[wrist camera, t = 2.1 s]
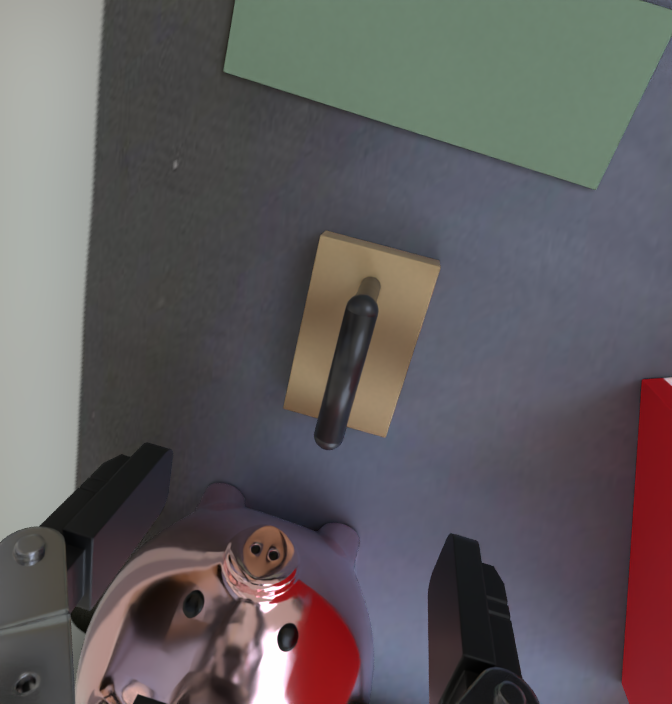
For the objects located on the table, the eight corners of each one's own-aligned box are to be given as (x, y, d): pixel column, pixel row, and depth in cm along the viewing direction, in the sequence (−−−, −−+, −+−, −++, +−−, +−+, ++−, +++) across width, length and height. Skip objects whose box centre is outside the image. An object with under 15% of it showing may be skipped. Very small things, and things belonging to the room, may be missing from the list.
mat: (224, 72, 23) (222, 71, 23) (256, -115, 20) (254, -118, 20) (594, 189, 23) (596, 190, 23) (680, 14, 20) (682, 12, 20)
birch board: (387, 424, 29) (379, 491, 23) (289, 396, 29) (257, 456, 24) (440, 260, 25) (445, 293, 19) (325, 230, 25) (298, 253, 20)
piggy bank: (421, 490, 30) (424, 807, 16) (339, 669, 38) (288, 999, 23) (186, 410, 31) (-23, 646, 16) (149, 602, 38) (-17, 884, 24)
